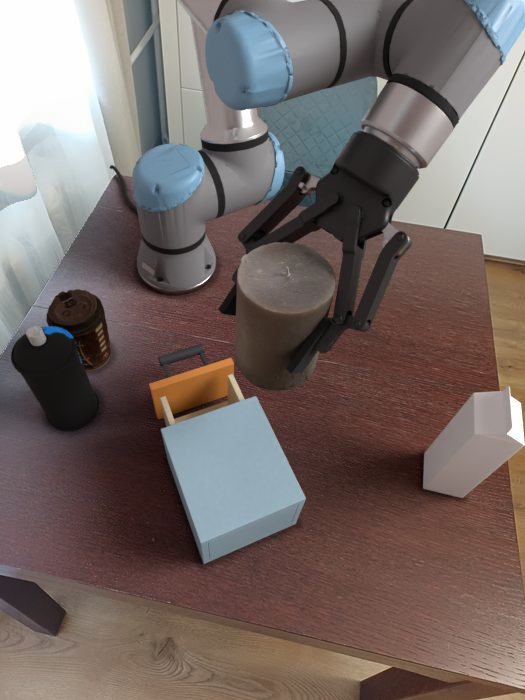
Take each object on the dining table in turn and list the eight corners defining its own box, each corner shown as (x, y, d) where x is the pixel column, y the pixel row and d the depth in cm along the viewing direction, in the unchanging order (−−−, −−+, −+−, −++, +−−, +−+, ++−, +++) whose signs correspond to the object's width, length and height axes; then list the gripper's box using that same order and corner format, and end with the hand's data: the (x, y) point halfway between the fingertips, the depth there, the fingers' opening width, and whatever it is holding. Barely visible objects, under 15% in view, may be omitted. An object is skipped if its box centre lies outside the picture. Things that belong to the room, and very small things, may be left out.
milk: (422, 489, 74) (484, 422, 56) (423, 452, 78) (482, 378, 60) (463, 498, 74) (539, 434, 56) (462, 461, 77) (534, 389, 59)
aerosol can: (87, 436, 76) (50, 364, 59) (36, 425, 76) (-15, 350, 60) (107, 391, 80) (78, 312, 64) (59, 381, 81) (18, 300, 65)
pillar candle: (301, 403, 55) (322, 319, 43) (220, 374, 57) (219, 284, 44) (326, 338, 60) (351, 247, 48) (252, 313, 62) (258, 219, 50)
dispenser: (167, 461, 74) (160, 428, 65) (252, 429, 78) (256, 395, 69) (203, 564, 66) (200, 543, 57) (295, 523, 70) (306, 498, 61)
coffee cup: (72, 333, 87) (51, 282, 76) (120, 335, 87) (106, 284, 76) (61, 375, 82) (37, 327, 71) (112, 377, 82) (96, 329, 71)
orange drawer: (145, 383, 81) (137, 352, 73) (218, 360, 84) (217, 328, 77) (185, 498, 70) (181, 475, 63) (266, 466, 74) (271, 440, 67)
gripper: (494, 221, 46) (350, 406, 51) (316, 117, 54) (209, 287, 60) (490, 197, 39) (325, 413, 45) (288, 82, 47) (171, 277, 53)
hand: (259, 341), depth 52 cm, fingers closed on pillar candle, 9 cm apart
